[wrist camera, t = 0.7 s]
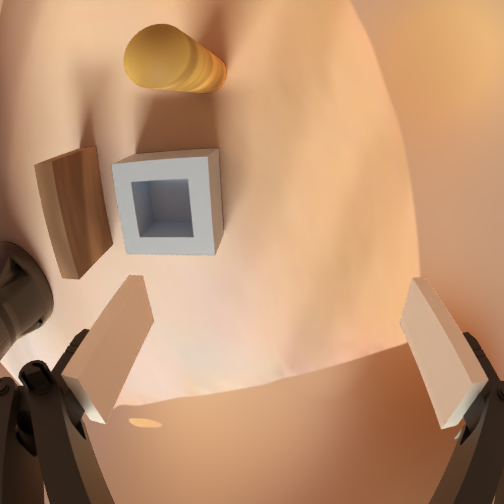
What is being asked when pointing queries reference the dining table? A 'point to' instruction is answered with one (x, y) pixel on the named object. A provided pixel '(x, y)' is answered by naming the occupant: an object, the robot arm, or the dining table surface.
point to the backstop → (74, 210)
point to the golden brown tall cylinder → (172, 61)
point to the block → (170, 202)
